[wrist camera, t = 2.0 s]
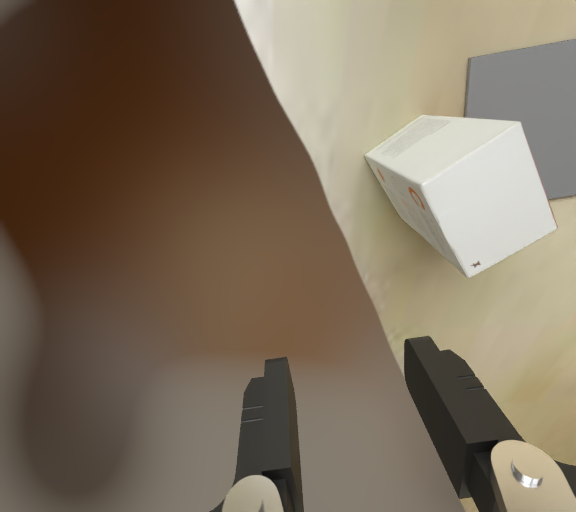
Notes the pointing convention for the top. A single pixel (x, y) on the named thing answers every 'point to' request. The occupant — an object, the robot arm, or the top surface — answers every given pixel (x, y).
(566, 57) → the mat
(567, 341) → the top surface
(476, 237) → the small box
